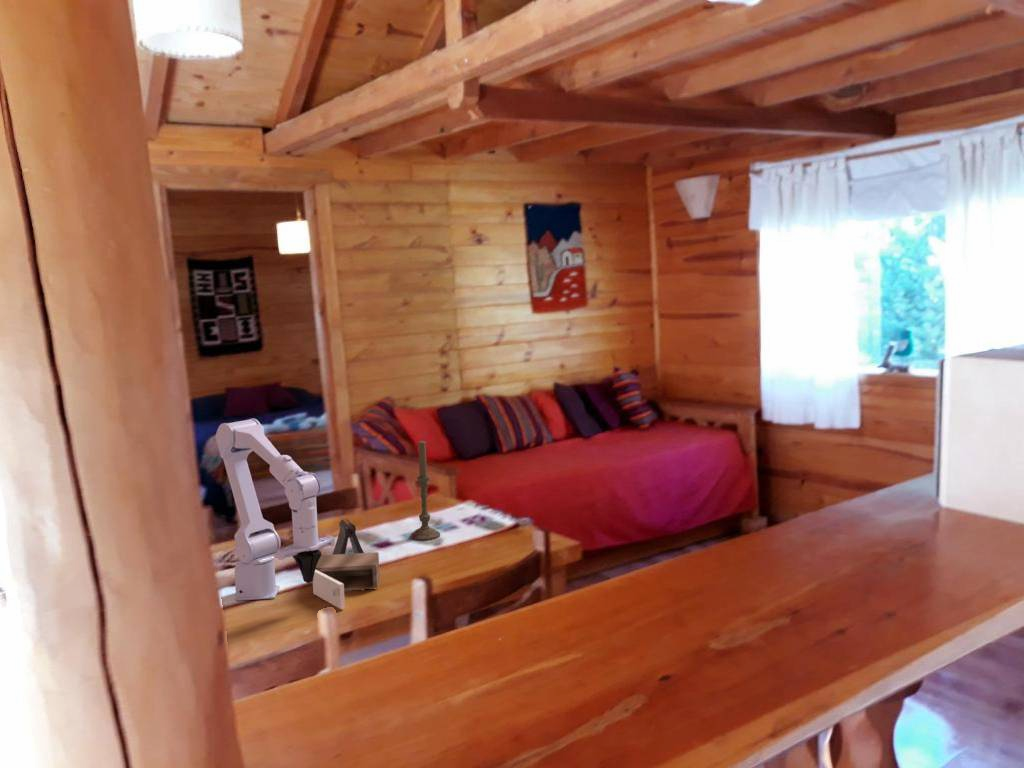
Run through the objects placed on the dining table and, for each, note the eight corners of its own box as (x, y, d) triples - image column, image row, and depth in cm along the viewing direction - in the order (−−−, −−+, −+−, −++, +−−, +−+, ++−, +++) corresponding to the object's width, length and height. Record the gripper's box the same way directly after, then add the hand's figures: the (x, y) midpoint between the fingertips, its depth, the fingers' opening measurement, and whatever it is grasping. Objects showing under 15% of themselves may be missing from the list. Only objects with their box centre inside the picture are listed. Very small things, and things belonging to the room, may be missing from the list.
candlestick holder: (407, 533, 260) (404, 438, 256) (436, 530, 262) (433, 435, 259) (413, 542, 251) (409, 443, 247) (443, 538, 254) (439, 440, 250)
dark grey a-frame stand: (362, 558, 237) (360, 516, 236) (368, 564, 232) (366, 521, 231) (330, 563, 234) (328, 521, 232) (335, 569, 228) (333, 526, 227)
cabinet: (313, 593, 211) (311, 568, 210) (318, 579, 221) (316, 555, 220) (377, 589, 212) (376, 564, 212) (379, 576, 222) (378, 552, 222)
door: (309, 594, 209) (307, 571, 208) (316, 592, 210) (315, 569, 210) (337, 610, 198) (335, 586, 198) (344, 608, 200) (343, 583, 199)
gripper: (286, 536, 190) (289, 593, 192) (340, 522, 200) (343, 577, 202) (270, 530, 195) (274, 586, 197) (324, 516, 205) (327, 570, 207)
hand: (308, 581), depth 200 cm, fingers closed
